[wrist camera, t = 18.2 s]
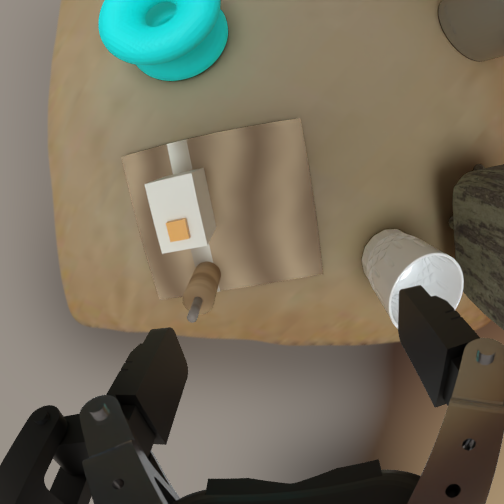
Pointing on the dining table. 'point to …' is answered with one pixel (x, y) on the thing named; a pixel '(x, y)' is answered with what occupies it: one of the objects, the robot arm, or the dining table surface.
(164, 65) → the donuts
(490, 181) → the tabletop clock
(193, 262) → the board
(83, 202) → the dining table surface
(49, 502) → the robot arm
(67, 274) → the dining table surface
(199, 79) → the dining table surface
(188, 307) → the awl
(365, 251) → the white cup
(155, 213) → the white block
